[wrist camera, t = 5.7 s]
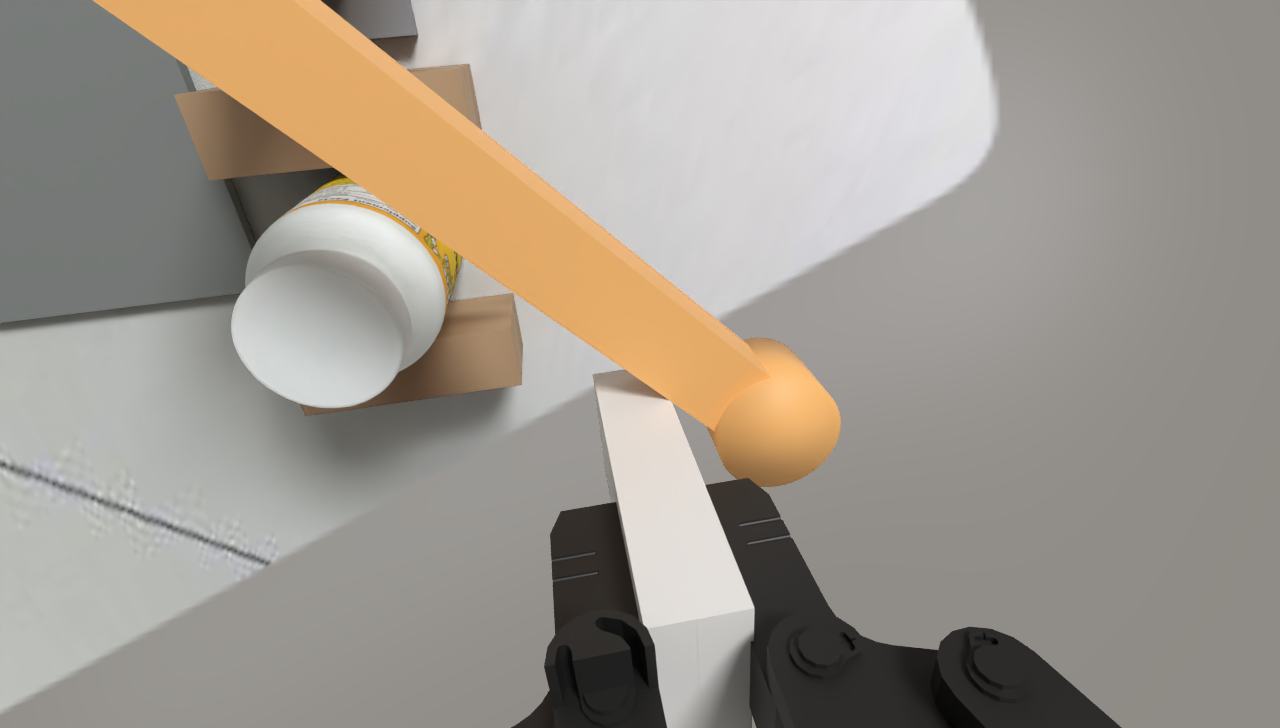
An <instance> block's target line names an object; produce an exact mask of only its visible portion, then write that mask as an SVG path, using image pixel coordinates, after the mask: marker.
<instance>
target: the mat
mask: <svg viewBox="0 0 1280 728" xmlns="http://www.w3.org/2000/svg"><path fill="white" fill-rule="evenodd" d="M193 91H196V89H195V86H194V84H193V81H192V79H191V76H190V74H189V71H188V69H187V66H186V65H185V64H183V63H182V62H181V61H179V60H178V59H176V58H175V57H173V56H172V55H170V54H169V53H168V52H166V51H165V50H163V49H162V48H160V47H159V46H158V45H156V44H155V43H153V42H152V41H150V40H149V39H147V38H146V37H145V36H143V35H142V34H140V33H139V32H137V31H136V30H134V29H133V28H132V27H130V26H129V25H127V24H126V23H124V22H123V21H121V20H120V19H119V18H117V17H116V16H114V15H113V14H111V13H110V12H108V11H107V10H106V9H104V8H103V7H101V6H100V5H98V4H97V3H95V2H94V1H93V0H0V323H3V322H11V321H20V320H28V319H36V318H44V317H52V316H60V315H68V314H76V313H85V312H93V311H101V310H109V309H117V308H125V307H133V306H141V305H150V304H158V303H166V302H174V301H182V300H190V299H198V298H206V297H214V296H223V295H231V294H239V293H242V292H243V290H244V289H245V288H246V287H245V275H246V268H247V263H248V260H249V256H250V254H251V252H252V249H253V247H254V246H255V244H256V242H255V239H254V237H253V234H252V232H251V229H250V227H249V224H248V222H247V219H246V216H245V214H244V211H243V209H242V206H241V204H240V201H239V199H238V196H237V193H236V191H235V188H234V186H233V183H232V181H231V178H229V179H219V180H210V181H209V179H208V177H207V175H206V172H205V170H204V167H203V165H202V162H201V160H200V157H199V155H198V153H197V150H196V148H195V145H194V143H193V140H192V138H191V136H190V133H189V131H188V128H187V126H186V123H185V121H184V118H183V116H182V114H181V111H180V109H179V106H178V104H177V101H176V99H175V96H174V95H175V94H181V93H187V92H193Z"/></svg>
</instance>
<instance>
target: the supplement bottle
mask: <svg viewBox="0 0 1280 728" xmlns="http://www.w3.org/2000/svg"><path fill="white" fill-rule="evenodd" d="M461 260H462V256H460V255H459V254H458V253H456V252H455V251H453V250H452V249H450V248H449V247H447V246H446V245H445V244H443V243H442V242H440V241H439V240H437V239H436V238H435V237H433V236H432V235H430V234H429V233H427V232H426V231H424V230H423V229H422V228H420V227H419V226H417V225H416V224H414V223H413V222H411V221H410V220H409V219H407V218H406V217H404V216H403V215H401V214H400V213H398V212H397V211H396V210H394V209H393V208H391V207H390V206H388V205H387V204H385V203H384V202H383V201H381V200H380V199H378V198H377V197H375V196H374V195H372V194H371V193H370V192H368V191H367V190H365V189H364V188H362V187H361V186H359V185H358V184H357V183H355V182H354V181H352V180H351V179H349V178H348V177H347V176H345V175H344V174H342V173H339V174H338V175H336V176H335V177H333V178H332V179H331V180H329V181H328V182H326V183H325V184H324V185H322V186H321V187H320V188H319V189H317V190H316V191H315V192H313V193H312V194H311V195H309V196H308V197H307V198H305V199H304V200H303V201H301V202H300V203H299V204H297V205H296V206H295V207H293V208H292V209H291V210H289V211H288V212H287V213H285V214H284V215H283V216H282V217H280V218H279V219H278V220H276V221H275V222H274V223H273V224H272V225H271V226H270V227H269V228H268V229H267V230H266V231H265V232H264V233H263V234H262V235H261V237H260V238H259V239H258V241H257V242H256V244H255V246H254V247H253V249H252V252H251V254H250V256H249V260H248V263H247V268H246V275H245V287H246V288H245V289H244V290H243V292H242V293H241V294H240V296H239V297H238V299H237V301H236V303H235V305H234V309H233V313H232V318H231V334H232V339H233V343H234V346H235V348H236V351H237V353H238V355H239V357H240V359H241V361H242V362H243V364H244V365H245V366H246V368H247V369H248V370H249V372H250V373H251V374H252V375H253V376H254V377H255V378H256V379H257V380H258V381H259V382H260V383H262V384H263V385H264V386H266V387H267V388H268V389H270V390H271V391H273V392H275V393H276V394H278V395H280V396H282V397H284V398H286V399H288V400H291V401H294V402H296V403H299V404H303V405H308V406H312V407H319V408H343V407H350V406H354V405H357V404H360V403H363V402H366V401H368V400H370V399H372V398H373V397H375V396H377V395H378V394H380V393H381V392H382V391H383V390H384V389H386V388H387V387H388V386H389V385H390V383H391V382H392V381H393V380H394V378H395V377H396V375H397V373H398V372H399V371H401V370H403V369H405V368H407V367H409V366H410V365H412V364H413V363H415V362H416V361H417V360H418V359H419V358H420V357H422V356H423V354H424V353H425V352H426V351H427V350H428V349H429V348H430V346H431V345H432V344H433V342H434V341H435V339H436V337H437V335H438V334H439V332H440V330H441V327H442V324H443V321H444V317H445V314H446V310H447V307H448V303H449V300H450V296H451V293H452V290H453V287H454V284H455V281H456V277H457V274H458V271H459V267H460V264H461Z"/></svg>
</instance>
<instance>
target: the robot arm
mask: <svg viewBox="0 0 1280 728" xmlns="http://www.w3.org/2000/svg"><path fill="white" fill-rule="evenodd" d="M593 379H594V387H595V394H596V401H597V410H598V418H599V425H600V433H601V440H602V448H603V456H604V463H605V471H606V477H607V483H608V488H609V493H610V498H611V503H607V504H602V505H596V506H590V507H584V508H579V509H572V510H567V511H561V512H560V515H559V517H558V519H557V521H556V523H555V525H554V527H553V529H552V532H551V534H550V538H551V557H552V579H553V597H554V618H555V636H554V638H553V639H552V641H551V643H550V644H549V646H548V649H547V654H546V659H545V665H544V667H545V672H546V676H547V681H548V685H549V689H550V691H549V692H548V694H547V695H546V697H545V698H544V700H543V702H542V703H541V704H540V705H539V706H538V707H537V708H536V709H535V710H534V711H533V713H532V714H531V715H530V716H528V717H527V718H525V719H524V720H522V721H521V722H520V723H518V724H517V725H515V726H513V727H512V728H752V716H753V719H754V722H755V724H756V727H757V728H1121V727H1120V726H1119V725H1118V724H1116V723H1115V722H1114V721H1113V720H1112V719H1111V718H1110V717H1109V716H1107V715H1106V714H1105V713H1104V712H1103V711H1102V710H1101V709H1099V708H1098V707H1097V706H1096V705H1095V704H1094V703H1092V702H1091V701H1090V700H1089V699H1088V698H1087V697H1086V696H1085V695H1083V694H1082V693H1081V692H1080V691H1079V690H1078V689H1077V688H1075V687H1074V686H1073V685H1072V684H1071V683H1070V682H1068V681H1067V680H1066V679H1065V678H1064V677H1063V676H1062V675H1060V674H1059V673H1058V672H1057V671H1056V670H1055V669H1054V668H1052V667H1051V666H1050V665H1049V664H1048V663H1047V662H1046V661H1044V660H1043V659H1042V658H1041V657H1040V656H1039V655H1038V654H1036V653H1035V652H1034V651H1033V650H1031V649H1030V648H1028V647H1027V646H1025V645H1024V644H1022V643H1021V642H1019V641H1018V640H1016V639H1015V638H1014V637H1011V636H1008V635H1006V634H1003V633H1000V632H998V631H995V630H993V629H987V628H977V627H967V628H963V629H959V630H955V631H952V632H951V633H950V634H949V635H948V636H946V637H945V638H944V639H943V640H942V641H941V642H940V646H939V650H931V649H922V648H912V647H903V646H894V645H888V644H884V643H879V642H875V641H873V640H870V639H868V638H865V637H863V636H861V635H860V634H859V633H858V632H857V631H856V630H855V628H853V627H852V626H850V625H849V624H847V623H846V622H844V621H842V620H841V619H839V618H838V617H836V616H835V615H834V613H833V612H832V610H831V609H830V607H829V606H828V604H827V602H826V600H825V599H824V597H823V595H822V593H821V592H820V589H819V587H818V586H817V584H816V582H815V580H814V578H813V576H812V574H811V572H810V570H809V569H808V567H807V565H806V563H805V561H804V559H803V557H802V555H801V554H800V552H799V550H798V548H797V546H796V544H795V543H794V540H793V539H792V538H791V537H790V533H789V531H788V529H787V527H786V526H785V524H784V522H783V520H781V518H780V514H779V512H778V511H777V509H776V507H775V505H774V503H773V501H772V499H771V497H770V496H769V494H767V492H765V491H764V490H763V489H761V488H760V487H759V486H758V485H757V484H755V483H754V482H753V481H752V480H750V479H749V478H744V479H738V480H733V481H727V482H721V483H715V484H709V485H705V484H704V481H703V479H702V476H701V474H700V471H699V469H698V466H697V464H696V461H695V459H694V456H693V454H692V451H691V449H690V447H689V444H688V441H687V439H686V437H685V434H684V432H683V429H682V427H681V424H680V422H679V419H678V417H677V414H676V412H675V409H674V407H673V404H672V402H671V400H668V399H667V398H665V397H664V396H662V395H661V394H660V393H658V392H657V391H655V390H654V389H652V388H651V387H649V386H648V385H647V384H645V383H644V382H642V381H641V380H639V379H638V378H636V377H635V376H634V375H632V374H631V373H629V372H628V371H626V370H618V371H612V372H605V373H598V374H593Z"/></svg>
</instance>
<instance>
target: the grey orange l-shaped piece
mask: <svg viewBox="0 0 1280 728" xmlns="http://www.w3.org/2000/svg"><path fill="white" fill-rule="evenodd" d="M93 1H94V2H95V3H97V4H98V5H100V6H101V7H103V8H104V9H106V10H107V11H108V12H110V13H111V14H113V15H114V16H116V17H117V18H119V19H120V20H121V21H123V22H124V23H126V24H127V25H129V26H130V27H132V28H133V29H134V30H136V31H137V32H139V33H140V34H142V35H143V36H145V37H146V38H147V39H149V40H150V41H152V42H153V43H155V44H156V45H158V46H159V47H160V48H162V49H163V50H165V51H166V52H168V53H169V54H170V55H172V56H173V57H175V58H176V59H178V60H179V61H181V62H182V63H183V64H185V65H186V66H188V67H189V68H191V69H192V70H194V71H195V72H196V73H198V74H199V75H201V76H202V77H204V78H205V79H207V80H208V81H209V82H211V83H212V84H214V85H215V86H217V87H218V88H220V89H221V90H222V91H224V92H225V93H227V94H228V95H230V96H231V97H233V98H234V99H235V100H237V101H238V102H240V103H241V104H243V105H244V106H246V107H247V108H248V109H250V110H251V111H253V112H254V113H256V114H257V115H259V116H260V117H261V118H263V119H264V120H266V121H267V122H269V123H270V124H271V125H273V126H274V127H276V128H277V129H279V130H280V131H282V132H283V133H284V134H286V135H287V136H289V137H290V138H292V139H293V140H295V141H296V142H297V143H299V144H300V145H302V146H303V147H305V148H306V149H308V150H309V151H310V152H312V153H313V154H315V155H316V156H318V157H319V158H321V159H322V160H323V161H325V162H326V163H328V164H329V165H331V166H332V167H334V168H335V169H336V170H338V171H339V172H341V173H342V174H344V175H345V176H347V177H348V178H349V179H351V180H352V181H354V182H355V183H357V184H358V185H359V186H361V187H362V188H364V189H365V190H367V191H368V192H370V193H371V194H372V195H374V196H375V197H377V198H378V199H380V200H381V201H383V202H384V203H385V204H387V205H388V206H390V207H391V208H393V209H394V210H396V211H397V212H398V213H400V214H401V215H403V216H404V217H406V218H407V219H409V220H410V221H411V222H413V223H414V224H416V225H417V226H419V227H420V228H422V229H423V230H424V231H426V232H427V233H429V234H430V235H432V236H433V237H435V238H436V239H437V240H439V241H440V242H442V243H443V244H445V245H446V246H447V247H449V248H450V249H452V250H453V251H455V252H456V253H458V254H459V255H460V256H462V257H463V258H465V259H466V260H468V261H469V262H471V263H472V264H473V265H475V266H476V267H478V268H479V269H481V270H482V271H484V272H485V273H486V274H488V275H489V276H491V277H492V278H494V279H495V280H497V281H498V282H499V283H501V284H502V285H504V286H505V287H507V288H508V289H510V290H511V291H512V292H514V293H515V294H517V295H518V296H520V297H521V298H523V299H524V300H525V301H527V302H528V303H530V304H531V305H533V306H534V307H535V308H537V309H538V310H540V311H541V312H543V313H544V314H546V315H547V316H548V317H550V318H551V319H553V320H554V321H556V322H557V323H559V324H560V325H561V326H563V327H564V328H566V329H567V330H569V331H570V332H572V333H573V334H574V335H576V336H577V337H579V338H580V339H582V340H583V341H585V342H586V343H587V344H589V345H590V346H592V347H593V348H595V349H596V350H598V351H599V352H600V353H602V354H603V355H605V356H606V357H608V358H609V359H611V360H612V361H613V362H615V363H616V364H618V365H619V366H621V367H622V368H624V369H625V370H626V371H628V372H629V373H631V374H632V375H634V376H635V377H636V378H638V379H639V380H641V381H642V382H644V383H645V384H647V385H648V386H649V387H651V388H652V389H654V390H655V391H657V392H658V393H660V394H661V395H662V396H664V397H665V398H667V399H668V400H671V402H673V403H674V404H676V405H677V406H678V407H680V408H681V409H683V410H684V411H686V412H687V413H689V414H690V415H691V416H693V417H694V418H696V419H697V420H699V421H700V422H701V423H703V424H704V425H706V426H707V429H708V431H709V433H710V436H711V438H712V440H713V442H714V445H715V447H716V449H717V451H718V454H719V456H720V458H721V460H722V463H723V465H724V466H725V468H726V469H727V471H728V472H729V473H730V474H731V475H732V476H734V477H735V478H736V479H744V478H749V479H750V480H752V481H753V482H754V483H755V484H757V485H758V486H759V487H774V486H780V485H785V484H788V483H791V482H794V481H796V480H799V479H801V478H803V477H805V476H806V475H808V474H809V473H811V472H812V471H814V470H815V469H816V468H817V467H819V465H821V464H822V463H823V462H824V461H825V460H826V458H827V457H828V456H829V454H830V453H831V452H832V450H833V449H834V447H835V444H836V442H837V440H838V437H839V433H840V427H841V420H840V413H839V410H838V407H837V405H836V403H835V402H834V400H833V399H832V397H831V396H830V395H829V394H828V393H827V391H826V390H825V389H824V388H823V387H822V385H821V384H820V383H819V382H818V381H817V379H816V378H815V377H814V376H813V375H812V373H811V372H810V371H809V370H808V369H807V367H806V366H805V365H804V364H803V362H802V361H801V360H800V359H799V358H798V356H797V355H796V354H795V353H794V352H793V351H792V350H791V349H790V348H789V347H788V346H786V345H785V344H783V343H781V342H779V341H776V340H773V339H767V338H750V339H745V340H742V339H740V338H739V337H738V336H736V335H735V334H734V333H733V332H732V331H730V330H729V329H728V328H727V327H725V326H724V325H723V324H722V323H721V322H719V321H718V320H717V319H716V318H714V317H713V316H712V315H711V314H709V313H708V312H707V311H706V310H704V309H703V308H702V307H701V306H699V305H698V304H697V303H696V302H694V301H693V300H692V299H691V298H690V297H688V296H687V295H686V294H685V293H683V292H682V291H681V290H680V289H678V288H677V287H676V286H675V285H673V284H672V283H671V282H670V281H668V280H667V279H666V278H665V277H663V276H662V275H661V274H660V273H658V272H657V271H656V270H655V269H653V268H652V267H651V266H650V265H649V264H647V263H646V262H645V261H644V260H642V259H641V258H640V257H639V256H637V255H636V254H635V253H634V252H632V251H631V250H630V249H629V248H627V247H626V246H625V245H624V244H622V243H621V242H620V241H619V240H617V239H616V238H615V237H614V236H613V235H611V234H610V233H609V232H608V231H606V230H605V229H604V228H603V227H601V226H600V225H599V224H598V223H596V222H595V221H594V220H593V219H591V218H590V217H589V216H588V215H586V214H585V213H584V212H583V211H581V210H580V209H579V208H578V207H577V206H575V205H574V204H573V203H572V202H570V201H569V200H568V199H567V198H565V197H564V196H563V195H562V194H560V193H559V192H558V191H557V190H555V189H554V188H553V187H552V186H550V185H549V184H548V183H547V182H545V181H544V180H543V179H542V178H540V177H539V176H538V175H537V174H536V173H534V172H533V171H532V170H531V169H529V168H528V167H527V166H526V165H524V164H523V163H522V162H521V161H519V160H518V159H517V158H516V157H514V156H513V155H512V154H511V153H509V152H508V151H507V150H506V149H504V148H503V147H502V146H501V145H500V144H498V143H497V142H496V141H495V140H493V139H492V138H491V137H490V136H488V135H487V134H486V133H485V132H483V131H482V130H481V129H480V128H478V127H477V126H476V125H475V124H473V123H472V122H471V121H470V120H468V119H467V118H466V117H465V116H463V115H462V114H461V113H460V112H459V111H457V110H456V109H455V108H454V107H452V106H451V105H450V104H449V103H447V102H446V101H445V100H444V99H442V98H441V97H440V96H439V95H437V94H436V93H435V92H434V91H432V90H431V89H430V88H429V87H427V86H426V85H425V84H424V83H423V82H421V81H420V80H419V79H418V78H416V77H415V76H414V75H413V74H411V73H410V72H409V71H408V70H406V69H405V68H404V67H403V66H401V65H400V64H399V63H398V62H396V61H395V60H394V59H393V58H391V57H390V56H389V55H388V54H387V53H385V52H384V51H383V50H382V49H380V48H379V47H378V46H377V45H375V44H374V43H373V42H372V41H370V40H369V39H368V38H367V37H365V36H364V35H363V34H362V33H360V32H359V31H358V30H357V29H355V28H354V27H353V26H352V25H350V24H349V23H348V22H347V21H346V20H344V19H343V18H342V17H341V16H339V15H338V14H337V13H336V12H334V11H333V10H332V9H331V8H329V7H328V6H327V5H326V4H324V3H323V2H322V1H321V0H93Z"/></svg>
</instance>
